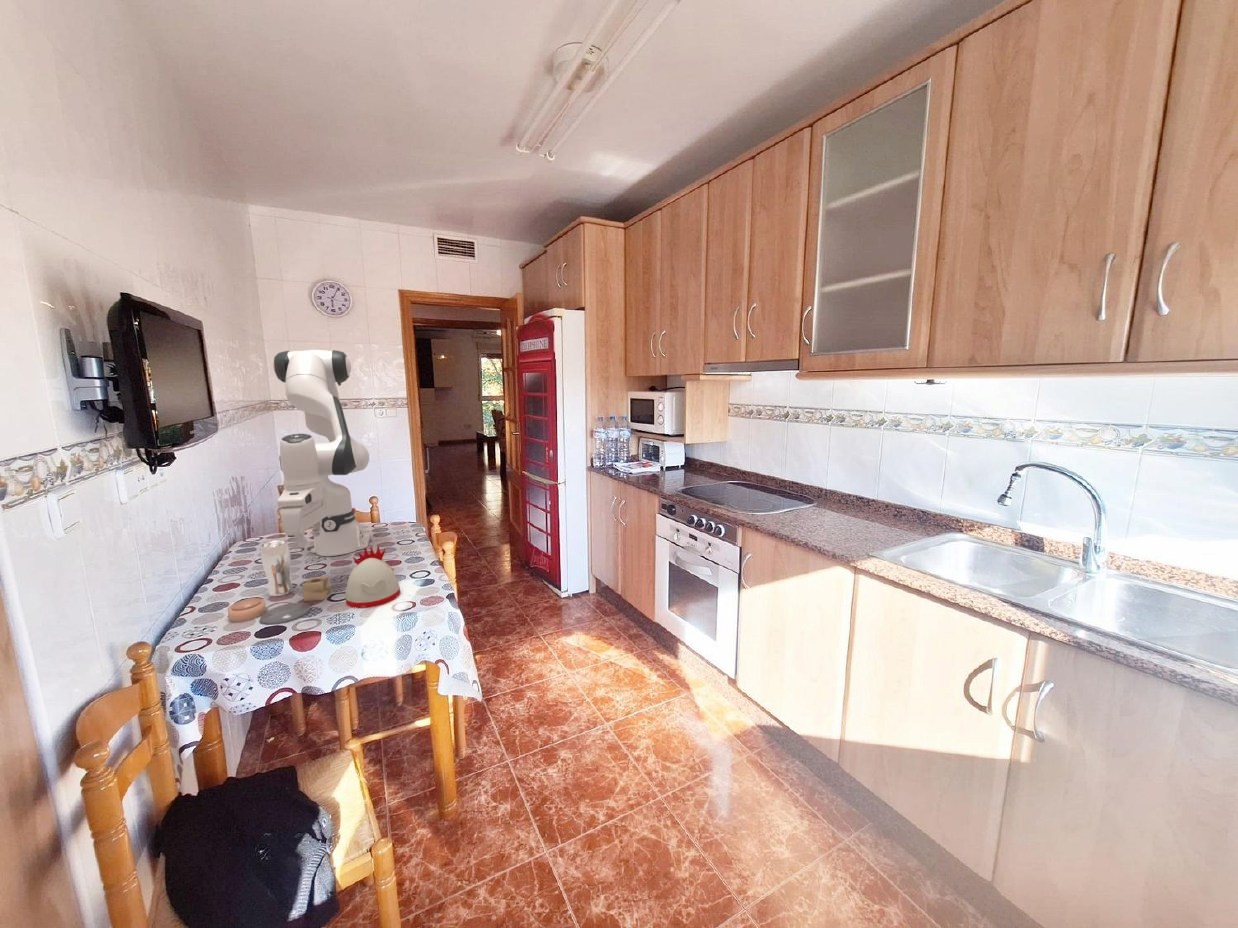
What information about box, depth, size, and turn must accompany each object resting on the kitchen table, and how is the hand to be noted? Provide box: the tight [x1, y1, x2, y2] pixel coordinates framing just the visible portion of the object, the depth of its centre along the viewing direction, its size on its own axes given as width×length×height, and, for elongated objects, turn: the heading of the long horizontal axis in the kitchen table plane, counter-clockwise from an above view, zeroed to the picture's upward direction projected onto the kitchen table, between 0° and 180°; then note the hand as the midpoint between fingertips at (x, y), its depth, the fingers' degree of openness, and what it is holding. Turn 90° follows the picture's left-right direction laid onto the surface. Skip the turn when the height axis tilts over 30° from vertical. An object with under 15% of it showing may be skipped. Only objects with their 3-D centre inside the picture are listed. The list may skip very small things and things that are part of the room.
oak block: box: [302, 576, 331, 602], centre depth 141 cm, size 5×5×5 cm
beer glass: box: [260, 539, 294, 597], centre depth 143 cm, size 7×7×15 cm
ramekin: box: [227, 597, 268, 623], centre depth 130 cm, size 8×8×4 cm
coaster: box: [260, 602, 312, 625], centre depth 130 cm, size 11×11×1 cm
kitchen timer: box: [345, 545, 401, 609], centre depth 139 cm, size 14×14×15 cm
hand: (310, 541), depth 138 cm, fingers open, 8 cm apart
